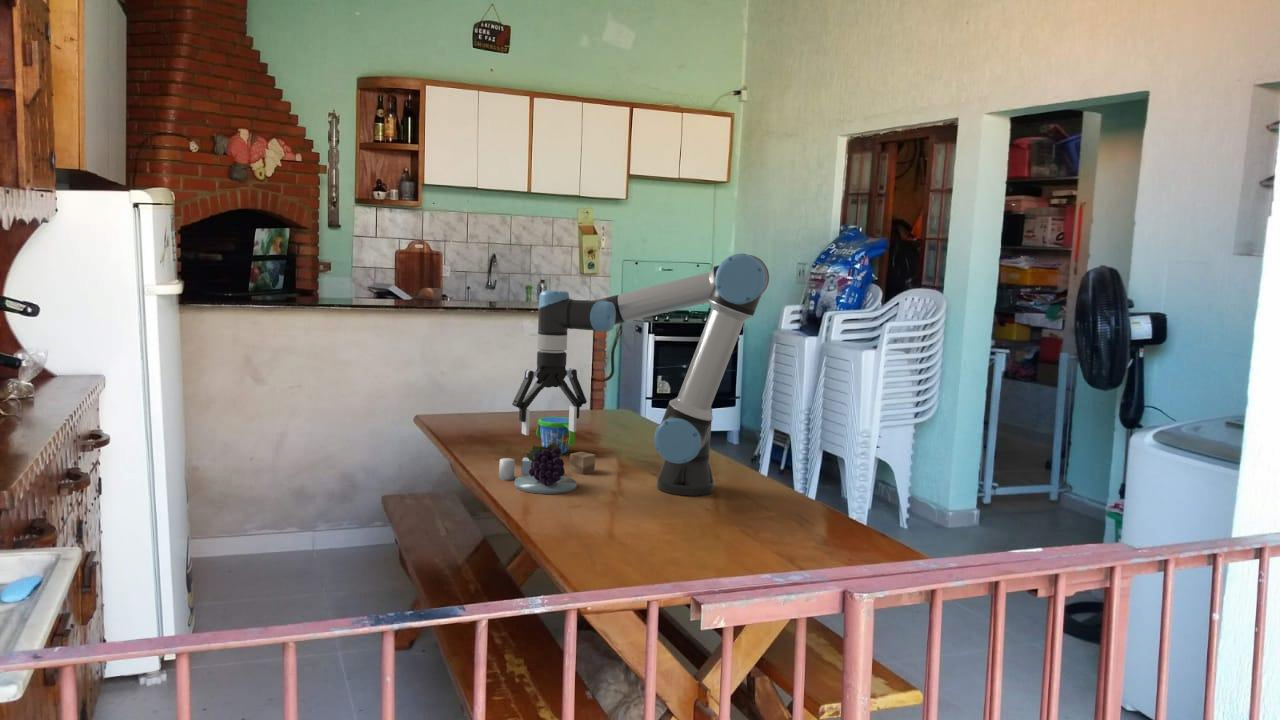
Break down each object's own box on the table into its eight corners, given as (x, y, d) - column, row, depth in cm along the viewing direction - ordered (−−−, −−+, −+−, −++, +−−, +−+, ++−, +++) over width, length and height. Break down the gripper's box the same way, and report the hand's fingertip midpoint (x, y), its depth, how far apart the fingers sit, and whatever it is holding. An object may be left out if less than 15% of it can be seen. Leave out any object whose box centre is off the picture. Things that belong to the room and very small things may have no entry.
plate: (587, 490, 241) (587, 486, 241) (531, 496, 233) (531, 491, 232) (558, 476, 255) (558, 472, 254) (504, 481, 246) (504, 476, 246)
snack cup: (526, 448, 287) (527, 416, 286) (554, 445, 293) (556, 413, 292) (554, 459, 275) (556, 425, 274) (583, 456, 281) (585, 422, 280)
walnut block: (594, 472, 262) (595, 454, 262) (582, 474, 258) (583, 457, 258) (580, 468, 265) (581, 451, 265) (569, 471, 261) (570, 454, 261)
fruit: (538, 500, 237) (522, 471, 249) (577, 491, 240) (560, 464, 253) (536, 464, 233) (520, 438, 245) (576, 456, 236) (558, 430, 249)
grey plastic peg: (516, 479, 249) (517, 460, 248) (502, 480, 247) (503, 462, 246) (510, 475, 252) (510, 457, 252) (496, 477, 250) (497, 458, 249)
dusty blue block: (550, 476, 255) (551, 462, 254) (521, 475, 254) (522, 460, 254) (551, 473, 259) (552, 459, 258) (522, 471, 258) (523, 457, 258)
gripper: (587, 348, 249) (584, 427, 252) (501, 350, 236) (498, 433, 238) (601, 351, 243) (598, 432, 245) (513, 353, 230) (511, 438, 232)
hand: (549, 432), depth 242 cm, fingers open, 13 cm apart
